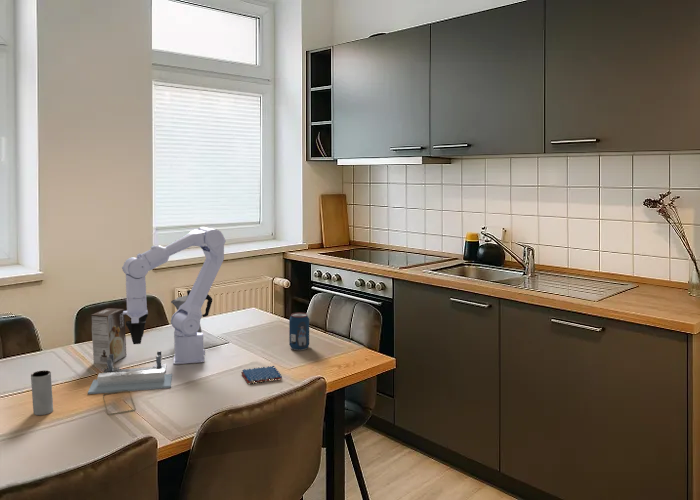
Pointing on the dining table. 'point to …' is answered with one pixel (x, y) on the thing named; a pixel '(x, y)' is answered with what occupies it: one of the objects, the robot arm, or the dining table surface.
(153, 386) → the mat
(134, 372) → the rail
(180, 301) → the coffeepot
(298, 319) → the soda can
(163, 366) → the gray bar clamp
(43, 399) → the planter
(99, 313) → the coffee box
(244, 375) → the woven mat
